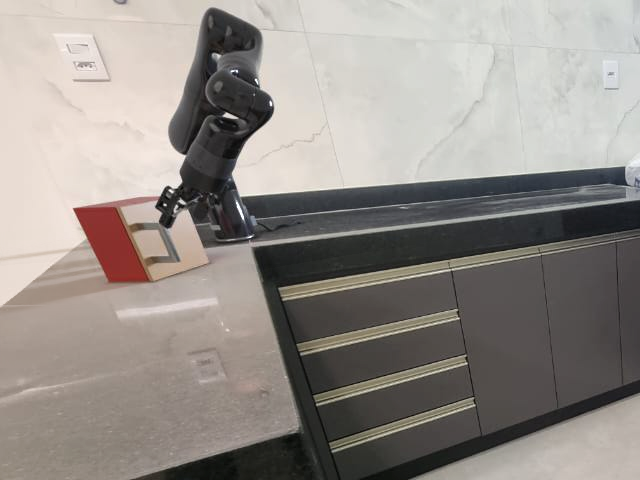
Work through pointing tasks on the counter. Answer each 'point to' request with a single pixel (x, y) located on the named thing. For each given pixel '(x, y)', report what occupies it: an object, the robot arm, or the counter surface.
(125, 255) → the red cabinet
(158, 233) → the wooden cabinet door
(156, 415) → the counter surface
